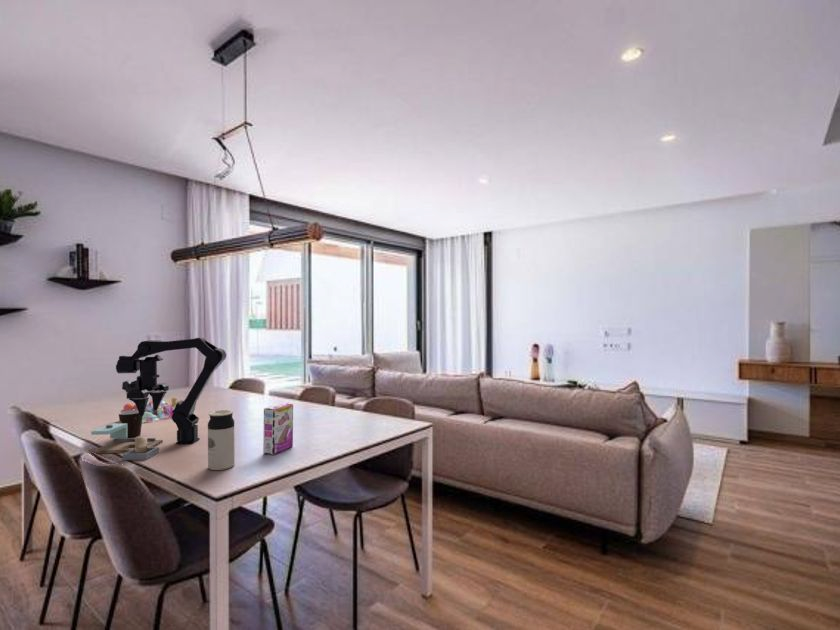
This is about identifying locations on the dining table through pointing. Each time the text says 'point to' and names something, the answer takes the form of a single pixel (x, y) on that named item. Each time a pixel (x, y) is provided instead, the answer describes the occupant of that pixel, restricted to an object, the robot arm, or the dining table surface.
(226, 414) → the travel mug
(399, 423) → the dining table surface
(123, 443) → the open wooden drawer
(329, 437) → the dining table surface
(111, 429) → the teal lid
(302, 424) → the dining table surface
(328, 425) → the dining table surface
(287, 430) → the candy bar box
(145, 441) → the maple peg
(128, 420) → the coffee mug
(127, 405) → the pastel sphere sculpture
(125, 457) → the slate tray
